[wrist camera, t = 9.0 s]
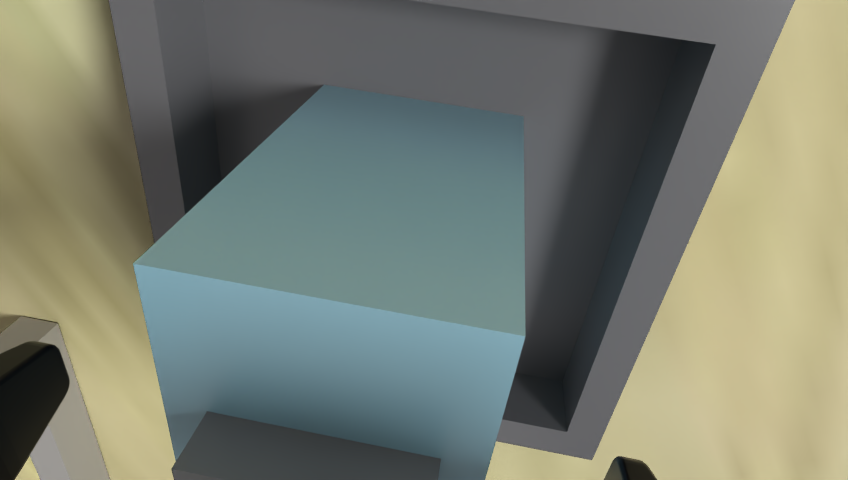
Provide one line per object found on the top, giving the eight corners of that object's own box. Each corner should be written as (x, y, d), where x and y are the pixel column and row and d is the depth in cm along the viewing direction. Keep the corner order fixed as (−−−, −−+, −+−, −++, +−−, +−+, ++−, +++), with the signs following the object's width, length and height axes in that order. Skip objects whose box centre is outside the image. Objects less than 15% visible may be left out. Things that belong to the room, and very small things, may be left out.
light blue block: (523, 116, 13) (526, 400, 6) (482, 306, 17) (449, 647, 9) (324, 84, 14) (79, 313, 6) (321, 277, 17) (160, 581, 9)
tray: (745, -24, 12) (797, -7, 9) (583, 394, 19) (592, 460, 16) (164, -103, 13) (89, -104, 10) (218, 324, 20) (179, 378, 17)
